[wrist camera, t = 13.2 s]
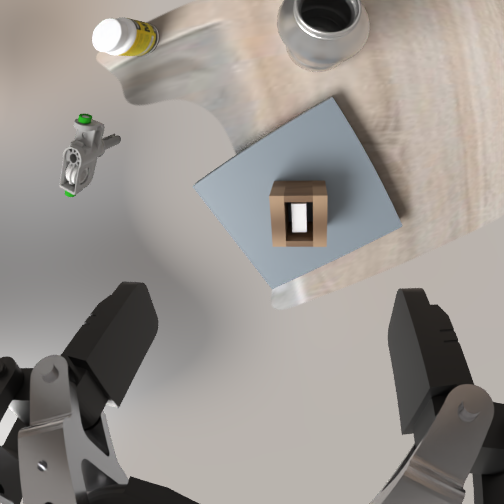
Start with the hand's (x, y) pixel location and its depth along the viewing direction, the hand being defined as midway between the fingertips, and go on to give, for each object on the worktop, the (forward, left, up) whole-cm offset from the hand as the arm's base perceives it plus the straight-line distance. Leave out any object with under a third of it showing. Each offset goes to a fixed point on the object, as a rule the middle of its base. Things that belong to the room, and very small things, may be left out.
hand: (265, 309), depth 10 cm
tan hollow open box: (+4, +7, -28) cm, 29 cm away
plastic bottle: (-8, -8, -30) cm, 32 cm away
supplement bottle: (+8, -22, -30) cm, 38 cm away
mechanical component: (+20, -14, -30) cm, 39 cm away
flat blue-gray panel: (+4, +7, -30) cm, 31 cm away
